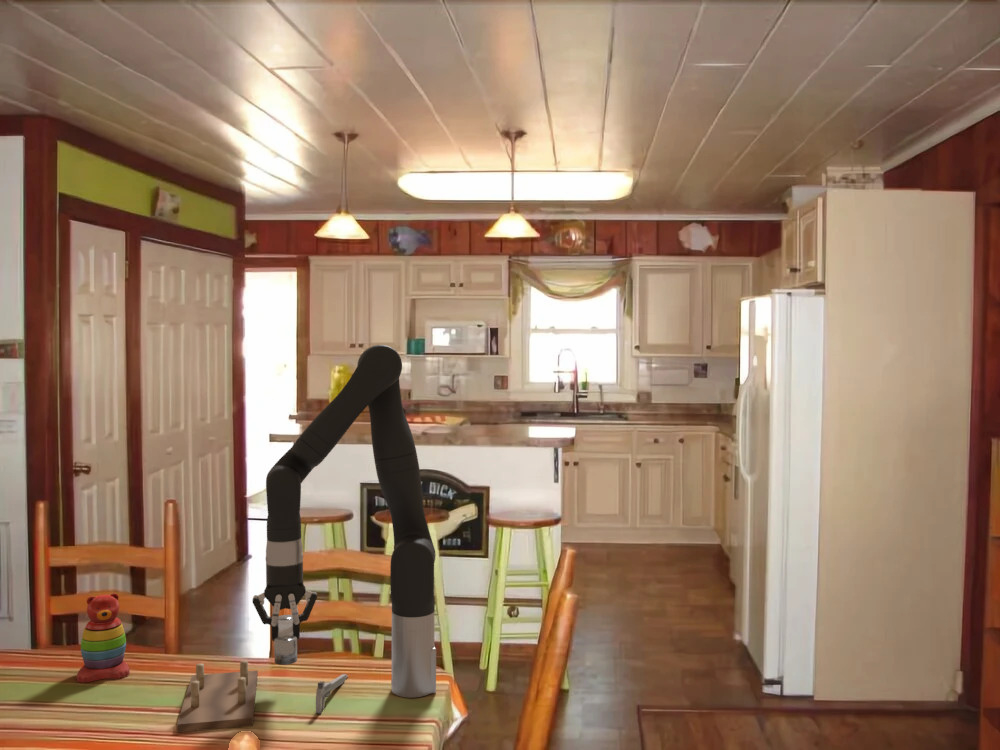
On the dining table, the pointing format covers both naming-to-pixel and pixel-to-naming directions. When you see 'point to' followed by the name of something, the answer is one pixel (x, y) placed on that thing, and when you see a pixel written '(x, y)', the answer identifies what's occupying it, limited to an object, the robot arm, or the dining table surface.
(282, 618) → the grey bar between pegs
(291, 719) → the dining table surface
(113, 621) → the stacking bear
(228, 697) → the board
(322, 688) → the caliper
